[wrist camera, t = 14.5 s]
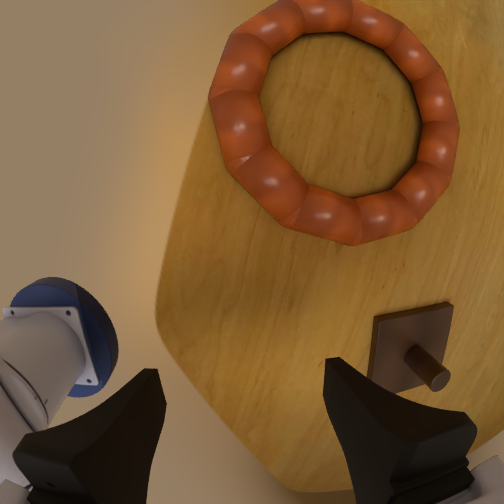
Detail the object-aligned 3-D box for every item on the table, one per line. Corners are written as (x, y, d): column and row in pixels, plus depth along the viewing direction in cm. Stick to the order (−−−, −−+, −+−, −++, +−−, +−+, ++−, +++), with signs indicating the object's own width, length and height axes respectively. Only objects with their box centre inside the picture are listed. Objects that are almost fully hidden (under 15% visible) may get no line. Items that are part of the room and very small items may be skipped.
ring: (251, 267, 21) (256, 280, 18) (188, 25, 17) (184, 5, 14) (457, 208, 22) (481, 212, 19) (402, 11, 18) (419, -3, 15)
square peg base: (363, 394, 24) (388, 433, 19) (373, 316, 23) (408, 348, 17) (432, 374, 25) (462, 404, 20) (447, 301, 23) (486, 324, 18)
